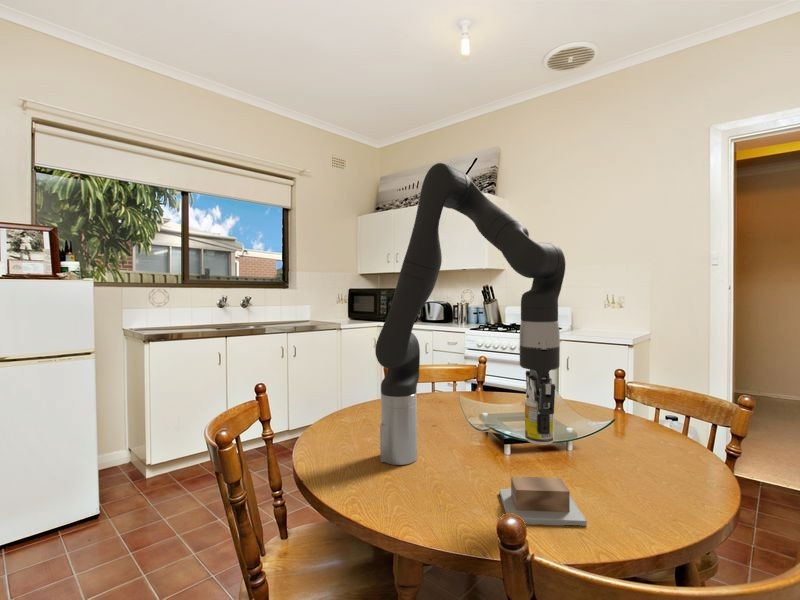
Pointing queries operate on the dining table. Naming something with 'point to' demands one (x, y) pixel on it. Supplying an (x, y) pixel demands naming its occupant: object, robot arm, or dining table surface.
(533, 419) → the supplement bottle
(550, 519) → the slate board
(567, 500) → the walnut block
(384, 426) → the robot arm
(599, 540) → the dining table surface
